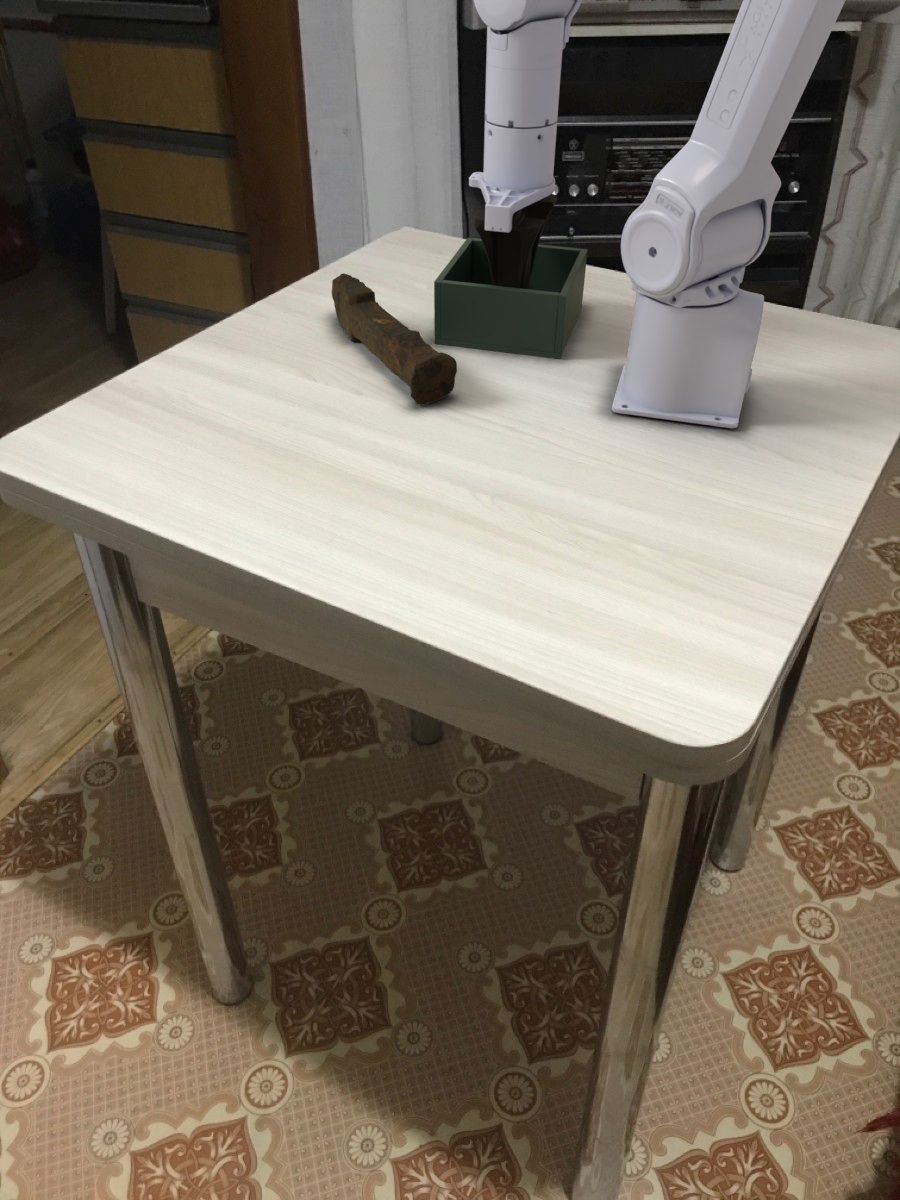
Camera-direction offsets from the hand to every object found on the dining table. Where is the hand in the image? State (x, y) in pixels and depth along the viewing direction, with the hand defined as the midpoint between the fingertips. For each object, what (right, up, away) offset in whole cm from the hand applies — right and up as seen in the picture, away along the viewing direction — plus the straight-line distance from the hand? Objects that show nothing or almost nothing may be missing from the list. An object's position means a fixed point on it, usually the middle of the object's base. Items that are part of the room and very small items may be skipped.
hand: (512, 289), depth 80 cm
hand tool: (-12, -7, -3) cm, 14 cm away
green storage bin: (0, -2, +2) cm, 3 cm away
